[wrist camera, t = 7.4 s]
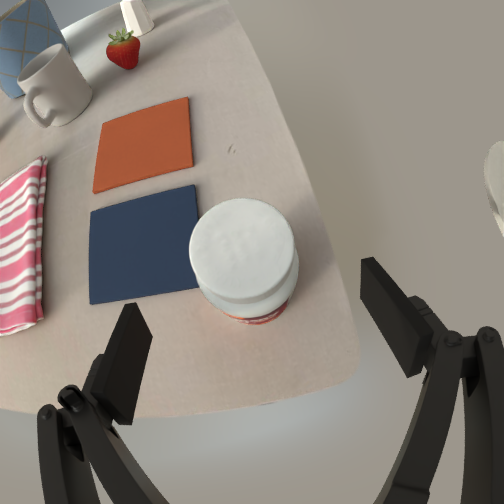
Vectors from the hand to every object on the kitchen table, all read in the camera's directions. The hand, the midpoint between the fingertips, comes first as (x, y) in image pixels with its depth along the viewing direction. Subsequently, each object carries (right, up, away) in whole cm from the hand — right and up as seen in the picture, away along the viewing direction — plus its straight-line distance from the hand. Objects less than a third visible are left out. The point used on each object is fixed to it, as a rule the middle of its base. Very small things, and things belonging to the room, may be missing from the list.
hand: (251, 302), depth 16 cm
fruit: (-19, +32, +20) cm, 42 cm away
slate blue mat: (-11, +3, +10) cm, 15 cm away
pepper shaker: (-21, +46, +25) cm, 56 cm away
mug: (-29, +24, +19) cm, 42 cm away
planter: (-48, +44, +26) cm, 70 cm away
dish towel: (-33, +3, +12) cm, 35 cm away
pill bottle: (0, 0, +9) cm, 9 cm away
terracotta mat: (-13, +16, +14) cm, 25 cm away
